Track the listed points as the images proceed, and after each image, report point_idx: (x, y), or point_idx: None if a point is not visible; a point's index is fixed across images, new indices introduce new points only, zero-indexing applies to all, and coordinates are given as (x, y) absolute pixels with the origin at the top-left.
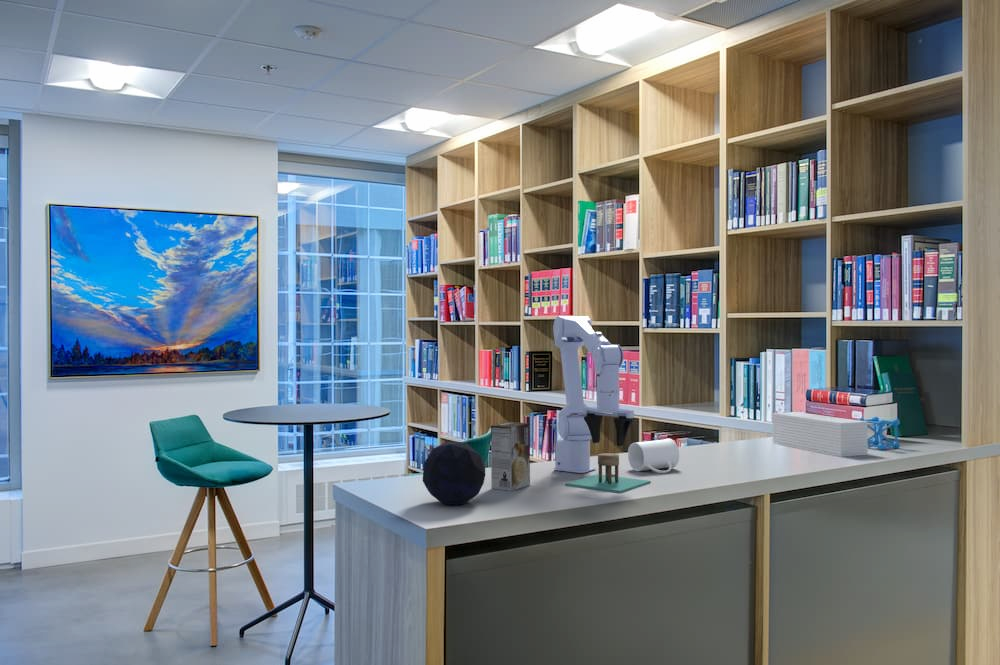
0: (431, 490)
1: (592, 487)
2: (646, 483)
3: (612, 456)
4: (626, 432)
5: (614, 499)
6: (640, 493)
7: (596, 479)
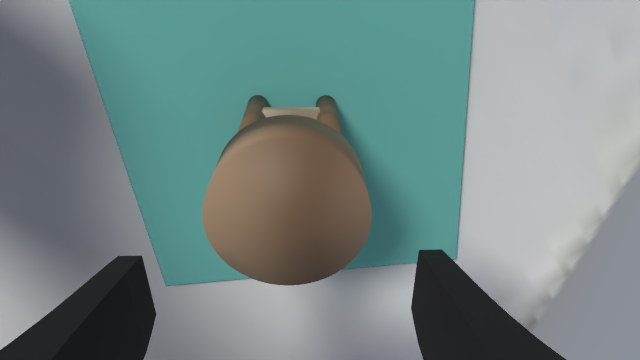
0: None
1: None
2: None
3: (353, 251)
4: (528, 341)
5: None
6: (533, 207)
7: (194, 121)
